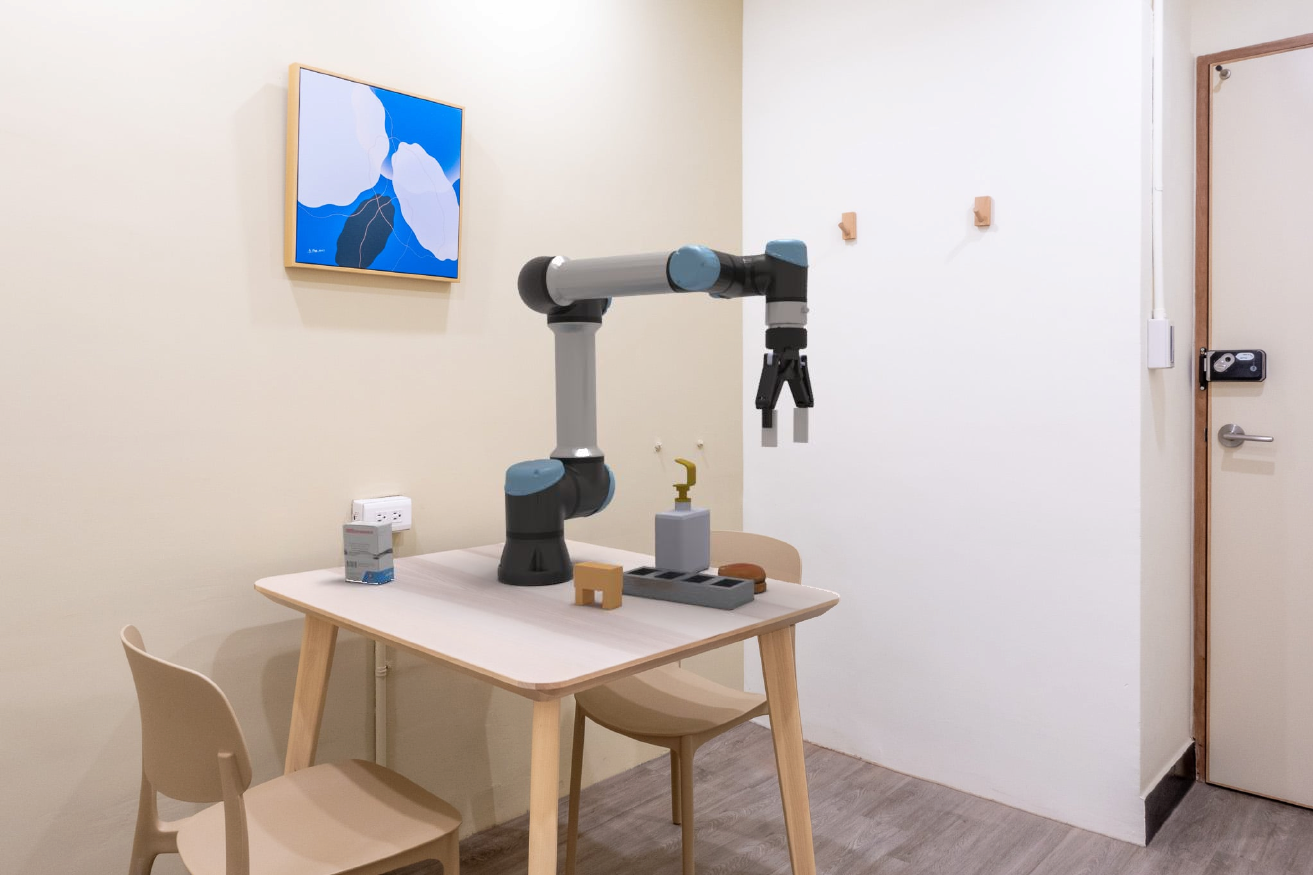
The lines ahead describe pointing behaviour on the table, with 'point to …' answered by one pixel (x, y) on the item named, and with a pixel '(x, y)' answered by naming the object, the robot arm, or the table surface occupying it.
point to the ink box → (368, 551)
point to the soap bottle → (683, 531)
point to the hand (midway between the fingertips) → (785, 444)
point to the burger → (746, 574)
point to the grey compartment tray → (688, 587)
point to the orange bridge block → (598, 583)
